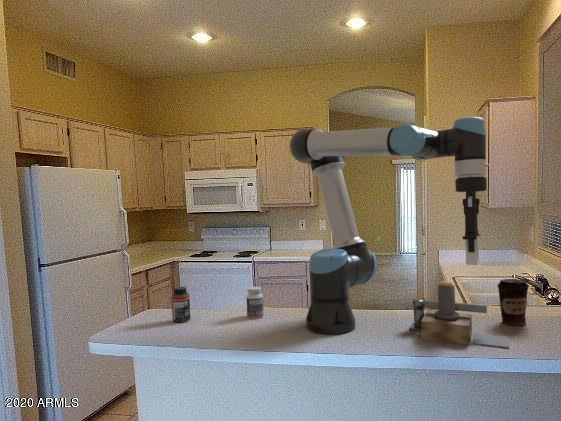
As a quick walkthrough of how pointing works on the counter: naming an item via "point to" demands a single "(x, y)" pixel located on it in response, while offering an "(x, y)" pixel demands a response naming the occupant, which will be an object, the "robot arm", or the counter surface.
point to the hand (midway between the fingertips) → (472, 262)
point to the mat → (491, 340)
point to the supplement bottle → (180, 305)
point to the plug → (446, 302)
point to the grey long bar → (458, 306)
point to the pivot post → (417, 319)
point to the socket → (447, 328)
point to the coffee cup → (513, 301)
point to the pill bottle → (255, 303)
